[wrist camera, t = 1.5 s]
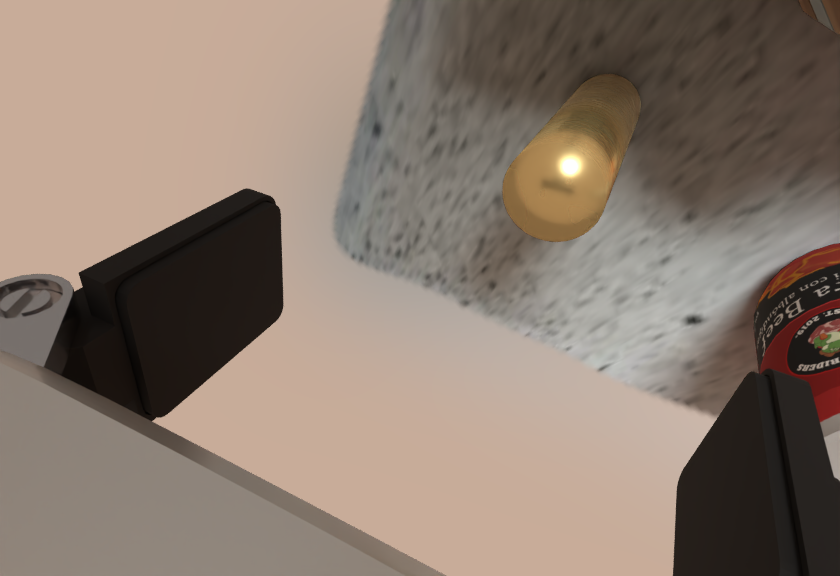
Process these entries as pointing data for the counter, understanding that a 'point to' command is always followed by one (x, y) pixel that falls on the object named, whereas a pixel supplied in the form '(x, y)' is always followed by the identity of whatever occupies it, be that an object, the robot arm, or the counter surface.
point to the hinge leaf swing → (821, 13)
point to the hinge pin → (573, 161)
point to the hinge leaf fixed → (836, 3)
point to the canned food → (806, 334)
